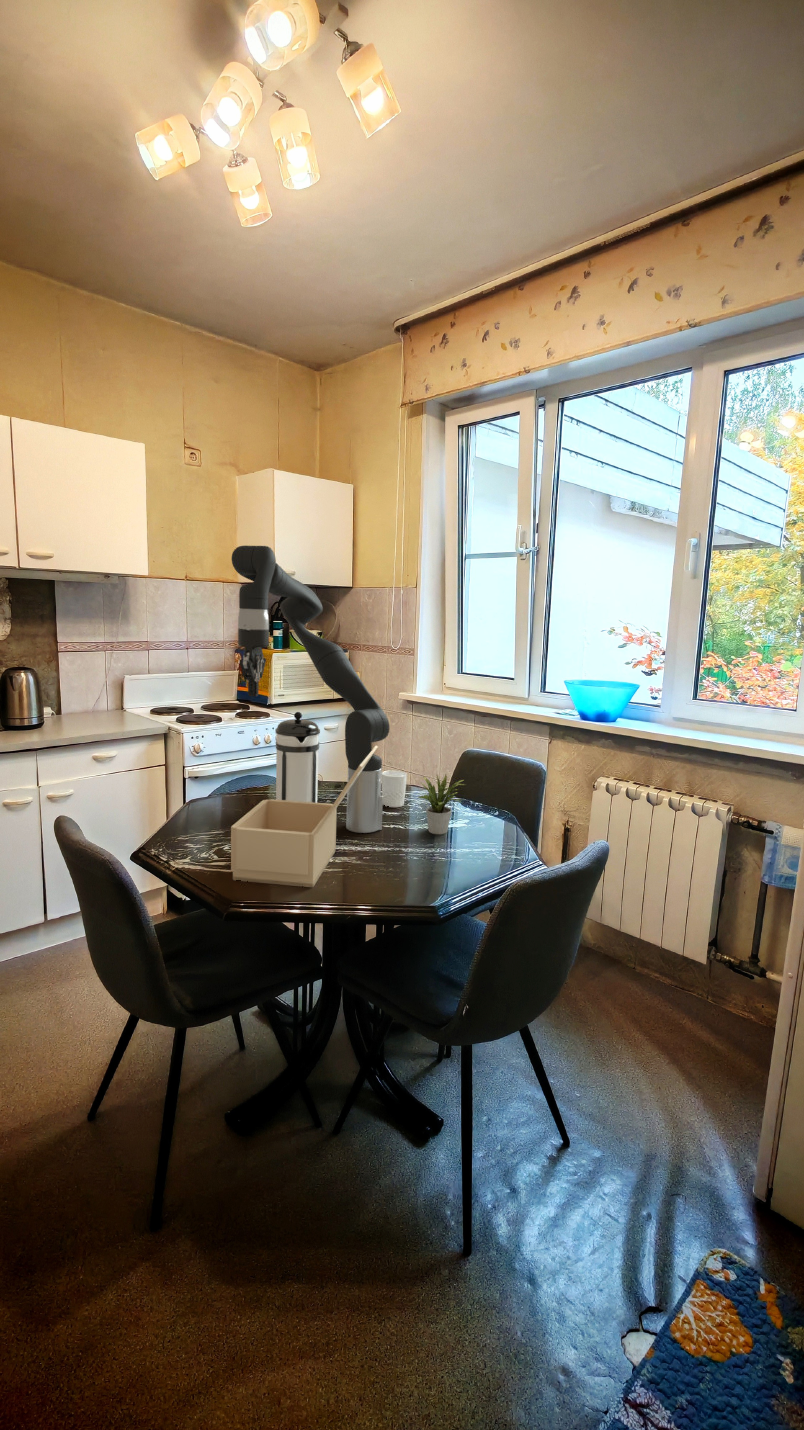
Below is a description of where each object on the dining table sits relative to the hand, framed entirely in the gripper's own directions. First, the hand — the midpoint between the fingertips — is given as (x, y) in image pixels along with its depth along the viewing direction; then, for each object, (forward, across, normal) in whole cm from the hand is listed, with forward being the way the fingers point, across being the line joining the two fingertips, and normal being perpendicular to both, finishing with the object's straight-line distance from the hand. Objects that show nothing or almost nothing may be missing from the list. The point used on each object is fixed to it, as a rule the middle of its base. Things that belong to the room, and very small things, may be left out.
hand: (253, 696), depth 165 cm
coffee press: (+37, -23, +5) cm, 44 cm away
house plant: (+37, -14, +49) cm, 63 cm away
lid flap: (+17, +17, +28) cm, 37 cm away
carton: (+37, +17, +15) cm, 43 cm away
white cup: (+37, -37, +32) cm, 62 cm away
